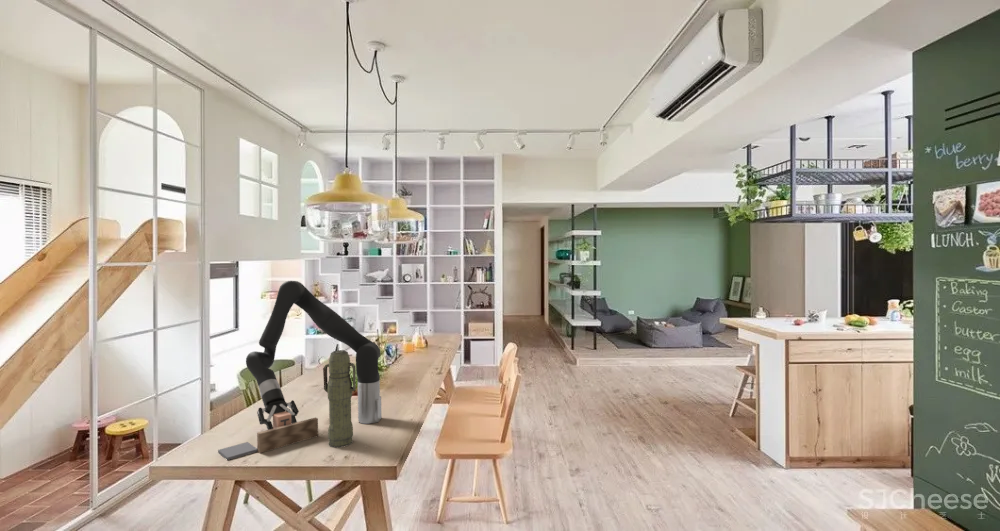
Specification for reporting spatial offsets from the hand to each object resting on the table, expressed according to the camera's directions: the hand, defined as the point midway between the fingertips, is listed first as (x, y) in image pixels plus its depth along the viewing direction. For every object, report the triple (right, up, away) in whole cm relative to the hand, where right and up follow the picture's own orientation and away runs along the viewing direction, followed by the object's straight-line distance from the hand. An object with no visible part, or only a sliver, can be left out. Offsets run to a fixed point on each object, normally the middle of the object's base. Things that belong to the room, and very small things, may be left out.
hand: (283, 428), depth 183 cm
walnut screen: (+4, -5, -3) cm, 7 cm away
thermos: (+23, -5, -3) cm, 24 cm away
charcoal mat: (-12, -5, -11) cm, 17 cm away
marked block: (-1, -5, +1) cm, 5 cm away
